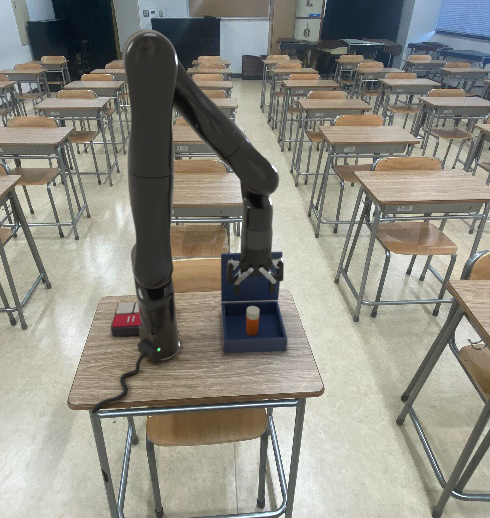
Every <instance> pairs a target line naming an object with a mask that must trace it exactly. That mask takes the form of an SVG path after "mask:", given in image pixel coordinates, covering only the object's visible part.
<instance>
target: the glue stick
mask: <svg viewBox="0 0 490 518" xmlns="http://www.w3.org/2000/svg"><path fill="white" fill-rule="evenodd" d="M259 311H260V310H259V308H258V307H256V306H250V307H248V308H247V312H246V316H247V317H246V333H247V334H248V335H250V336H254V335H256V334H257V333H258V324H259Z"/></svg>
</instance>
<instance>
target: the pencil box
mask: <svg viewBox="0 0 490 518" xmlns="http://www.w3.org/2000/svg"><path fill="white" fill-rule="evenodd" d="M250 306H256V307H258V308H259V310H260V311H259V324H258V333H257V334H256V335H254V336H250V335H248V334H247V333H246V317H247V316H246V312H247V308H248V307H250ZM220 311H221V312H220V314H221V315H220V316H221V328H222V329H221V330H222V344H223V354H248V353H251V354H252V353H275V352H276V353H277V352H278V353H279V352H287V349H288V348H287V346H288V336H287V331H286V328H285V324H284V320H283V315H282V311H281V308H280V304H279V300H268V301H237V302H221V303H220Z"/></svg>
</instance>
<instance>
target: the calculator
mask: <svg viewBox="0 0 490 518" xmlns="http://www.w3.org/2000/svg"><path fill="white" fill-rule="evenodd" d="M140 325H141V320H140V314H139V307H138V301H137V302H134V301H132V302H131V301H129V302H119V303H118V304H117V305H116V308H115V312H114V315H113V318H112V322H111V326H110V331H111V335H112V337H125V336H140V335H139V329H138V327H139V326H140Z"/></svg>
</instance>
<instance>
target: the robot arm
mask: <svg viewBox="0 0 490 518" xmlns="http://www.w3.org/2000/svg"><path fill="white" fill-rule="evenodd" d="M122 65H123V70H124V73H125V78H126V85H127V91H128V101H129V109H130V129H129V130H130V131H129V137H128V138H129V139H128V146H127V186H128V188H127V189H128V196H129V205H130V209H131V215H132V220H133V225H134V231H135V232H134V233H135V243H134V244H133V246H132V248H131V251H130V262H131V270H132V274H133V281H134V282H133V283H134V287H135V295H136V301H137V302H138V307H139V314H140V320H141V325H140V326H139V327H138V329H139V335H138V336H139V340H140V341H139V342H138V343H137V350H138V352H139V353H141V354H140V355H139V357H138V359H137V360H136V363H135V369H134V370H132V371H127V372H124V373H123V374H122V375H121V376H120V379H119V381H120V385H121V386H122V389H123V390H122V392H121V393H120V394H118V395H117V396H114V397H110V398H107V399H103V400H102V401H99V402H98V403H97V404H96V405H95V406H94V407H93V409H92V411H91V413H92V414H96V413H97V412H98V410H99V409H100V408H101V407H102V406H104V405H106V404H110V403H114V402H117V401H120V400H121V399H123V398H124V397H125V396H126V395H127V393H128V385H127V384H126V382H125V378H126V377H131V376H134V375H137V373H139V371H140V369H141V368H140V367H141V366H140V365H141V363H142V361H143V360H144V358H145V357H146V358H147V359H149V360H150V361H152V362H155V363H156V364H159V363H161V362H165V361H168V360H171V359H172V358H174V357H175V356H176V354H177V353H178V351H179V350H180V345H181V344H180V338H179V335H180V330H179V328H178V317H177V305H176V303H177V302H176V295H175V286H174V280H173V273H174V262H173V261H174V260H173V253H172V242H171V229H172V219H173V208H174V196H175V195H174V193H175V146H174V145H175V144H174V143H175V142H174V134H173V111H174V110H175V111H176V112H177V113H178V114H179V116H180V117H182V119H183V120H184V121H185V122H186V123H187V125H188V126H189V127H190V129H191V130H192V131H193V132H194V134H196V136H197V137H198V138H199V139H200V140H201V141H202V142H203V143H204V145H205V146H206V147H207V148H208V149H209V150H210V151H211V152H212V154H214V155H215V156H216V157H217V158H218V159H219V160H220V161H221V162H222V163H223V164H224V165H226V167H228V168H229V169H230V170H231V171H232V172H233V173H234V175H235V176H236V177H237V178H238V180H239V185H240V193H241V201H242V212H241V214H242V216H241V229H240V235H239V236H240V253H241V257H240V260H239V261H233V260H232V259H228V266H227V282H228V283H233V284H234V293H235V294H237V296H240V282H241V281H242V280H244V279H245V278H246V277H247V276H249V277H254V276H258V277H260V276H262V275H264V276H265V277H266V278H267V279H269V294H272V292H275V284H276V282H277V281H280V282H284V267H285V266H284V265H285V264H284V260H283V256H282V257H278V258H277V259H273V260H272V259H271V252H273V235H274V234H273V233H274V230H273V220H274V219H273V218H274V205H273V202H272V200H271V197H270V196H271V195H273V194H274V193H275V192H276V190H278V188H279V184H280V175H279V172H278V170H277V168H276V167H275V166H274V165H273V164H272V163H271V162H270V160H268V159H267V158H266V156H264V155H263V154H262V153H261V152H259V150H257V148H256V147H255V146H254V145H253V143H252V142H251V141H250V139H249V138H248V136H247V135H246V134H245V132H243V130H241V128H239V126H238V125H237V124H236V123H235V122H234V121H233V120H232V118H230V117H229V116H228V114H227V113H225V111H223V109H222V108H220V106H218V105H217V104H216V103H215V101H213V99H211V98H210V97H209V96H208V95H207V94H206V93H205V92H204V91H203V90H202V88H200V87H199V85H198V84H197V83H196V82H195V80H193V79H192V77H191V76H190V75H189V73H188V71H186V69H185V67H184V66H183V64H182V63H181V62H180V60H179V57H178V54H177V51H176V48H175V46H174V44H173V43H172V41H171V40H170V39H169V38H168V37H166V36H165V35H164V34H163V33H161V32H159V31H157V30H155V29H152V28H141V29H138V30H135V31H134V32H132V33H131V34H130V35H129V36H128V37H127V39H126V40H125V43H124V45H123V48H122ZM272 265H275V267H276V268H277V274H276V275H274V274H273V273H272V272H271V270H270V268H271V267H272ZM237 266H239V267H240V269H239V271H238V273H237V274H236V275H235V276H233V270H235V269H236V267H237ZM100 468H101V467H100ZM101 473H102V476H103V479H104V482H105V484H106V483H109V481H110V480H109V475H108V473H107V472H106V471H104V469H103V468H101Z"/></svg>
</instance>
